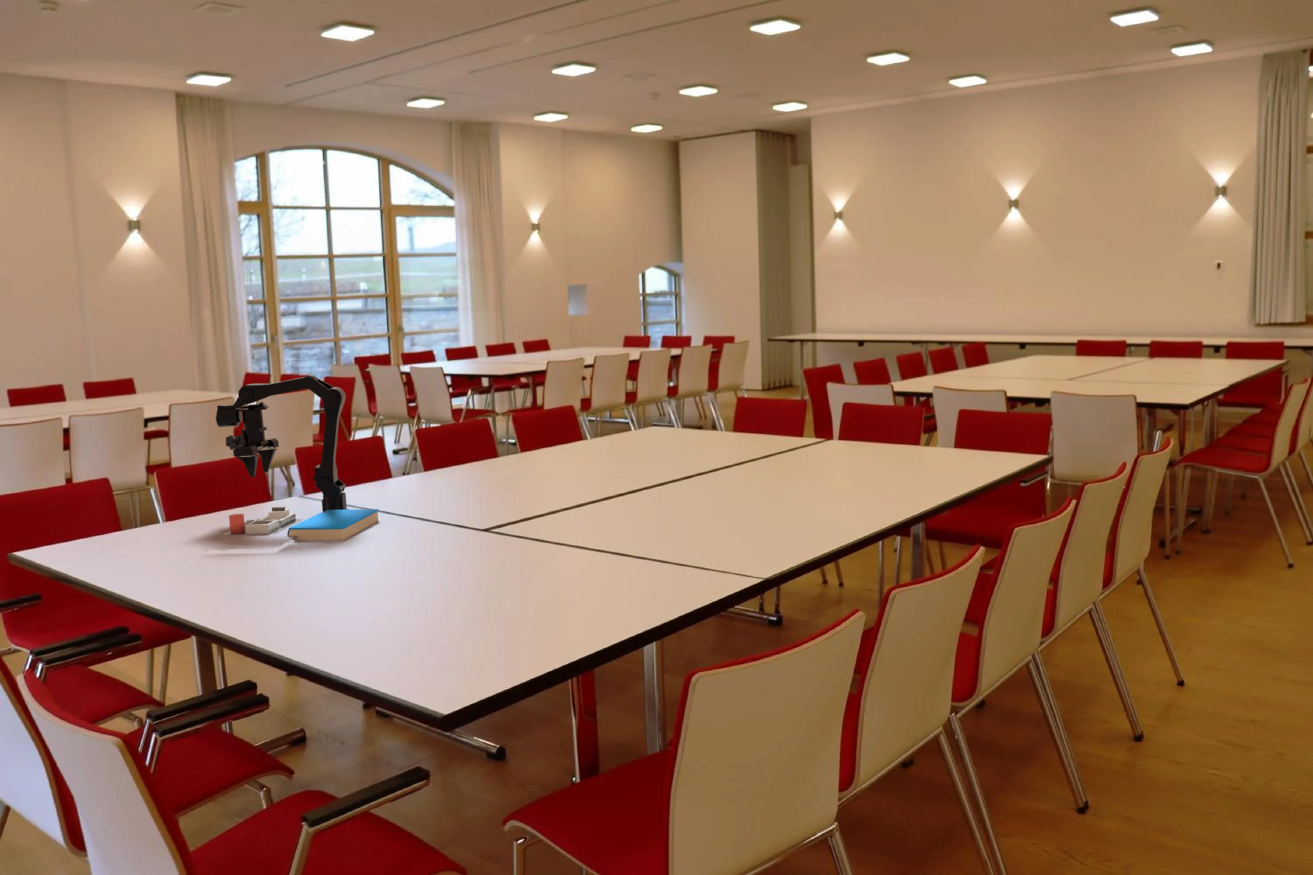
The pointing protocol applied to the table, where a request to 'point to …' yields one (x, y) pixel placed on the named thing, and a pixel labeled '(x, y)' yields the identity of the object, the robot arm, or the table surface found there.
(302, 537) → the book
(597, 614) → the table surface
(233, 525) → the cap
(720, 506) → the table surface
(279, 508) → the breaker
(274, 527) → the panel
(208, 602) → the table surface
